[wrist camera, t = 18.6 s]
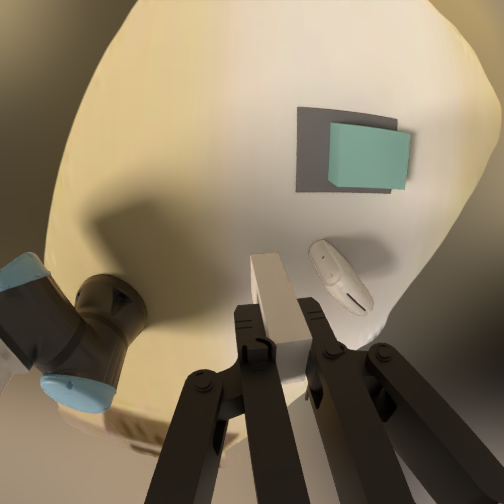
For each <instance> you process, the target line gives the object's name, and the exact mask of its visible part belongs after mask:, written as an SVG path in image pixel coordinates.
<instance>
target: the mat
mask: <svg viewBox="0 0 504 504" xmlns="http://www.w3.org/2000/svg"><path fill="white" fill-rule="evenodd" d="M331 123H342V124H351V125H360V126H367V127H375V128H381V129H388V130H393V131H397V119H392V118H387V117H381V116H376V115H369V114H363V113H355V112H348V111H339V110H329V109H318V108H303V107H297V169H296V192H351V193H385V194H390V192H391V189H386V188H362V187H337V186H336V185H334V184H333V183H332V182H330V181H329V180H328V173H329V154H330V127H331Z"/></svg>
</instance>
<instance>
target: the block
mask: <svg viewBox="0 0 504 504" xmlns="http://www.w3.org/2000/svg"><path fill="white" fill-rule="evenodd" d="M410 136H411V134H408V133H404V132H399V131H393V130H388V129H381V128H375V127H367V126H360V125H351V124H342V123H331V127H330V154H329V173H328V180H329V181H330V182H332V183H333V184H334V185H336V186H337V187H362V188H386V189H403V190H405V183H406V176H407V168H408V159H409V149H410Z"/></svg>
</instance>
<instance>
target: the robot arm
mask: <svg viewBox="0 0 504 504" xmlns="http://www.w3.org/2000/svg"><path fill="white" fill-rule="evenodd" d="M250 261H251V293H252V300H253V304H248V305H238V306H237V308H236V310H235V312H234V320H235V332H236V342H237V351H238V358H237V361H236V362H235V364H234V365H233V366H231V367H230V368H228V369H226V370H224V371H221V372H218V373H216V372H214V371H211V370H208V369H202V370H198V371H195V372H193V373H192V374H190V375H189V376H188V377H187V379H186V381H185V383H184V386H183V389H182V392H181V395H180V398H179V400H178V403H177V406H176V409H175V412H174V415H173V418H172V421H171V424H170V426H169V429H168V432H167V435H166V438H165V441H164V444H163V447H162V450H161V453H160V456H159V459H158V463H157V465H156V468H155V471H154V474H153V477H152V480H151V483H150V487H149V490H148V493H147V496H146V499H145V502H144V504H211V500H212V496H213V491H214V486H215V482H216V478H217V473H218V468H219V464H220V459H221V454H222V450H223V445H224V440H225V436H226V431H227V426H228V421H229V419H231V418H234V417H236V416H239V415H242V414H244V413H245V420H246V428H247V435H248V442H249V450H250V456H251V464H252V470H253V477H254V483H255V490H256V497H257V503H258V504H310V500H309V496H308V492H307V488H306V484H305V480H304V476H303V472H302V467H301V463H300V459H299V455H298V451H297V447H296V443H295V439H294V435H293V430H292V427H291V422H290V418H289V414H288V410H287V406H286V402H285V397H284V393H283V389H282V384H289V383H295V382H301V381H304V380H305V375H306V377H307V380H308V386H307V390H306V394H305V400H308V397H309V398H310V401H311V405H312V408H313V411H314V415H315V418H316V421H317V425H318V428H319V431H320V435H321V438H322V442H323V445H324V449H325V452H326V455H327V459H328V462H329V466H330V469H331V472H332V476H333V480H334V483H335V486H336V490H337V493H338V497H339V501H340V504H416V503H415V502H414V500H413V498H412V495H411V492H410V489H409V487H408V484H407V482H406V479H405V476H404V474H403V471H402V469H401V467H400V464H399V461H398V459H397V457H396V454H395V452H394V449H395V451H396V452H397V453H398V454H399V456H400V457H401V458H402V460H403V461H404V462H405V463H406V465H407V466H408V467H409V469H410V470H411V471H412V473H413V474H414V475H415V476H416V478H417V479H418V480H419V481H420V483H421V484H422V485H423V487H424V488H425V489H426V490H427V492H428V493H429V494H430V496H431V497H432V498H433V499H434V501H435V502H436V503H437V504H504V467H503V466H502V465H501V464H500V463H499V461H498V460H497V459H496V458H495V456H494V455H493V454H492V453H491V452H490V450H489V449H488V448H487V447H486V446H485V445H484V443H482V441H481V440H480V439H479V438H478V437H477V436H476V434H475V433H474V432H473V431H472V430H471V429H470V428H469V426H468V425H467V424H466V423H465V422H464V421H463V420H462V419H461V418H460V416H459V415H458V414H457V413H456V412H455V411H454V410H453V409H452V408H451V407H450V405H449V404H448V403H447V402H446V401H445V400H444V399H443V398H442V397H441V396H440V395H439V394H438V392H437V391H436V390H435V389H434V388H433V387H432V386H431V385H430V384H429V383H428V382H427V381H426V380H425V379H424V378H423V377H422V376H421V375H420V374H419V372H418V371H416V369H415V368H414V367H413V366H412V365H411V364H410V363H409V362H408V361H407V360H406V359H405V358H404V357H403V356H402V355H401V354H400V353H399V352H398V351H397V350H396V349H395V348H394V347H392V346H391V345H389V344H386V343H377V344H374V345H372V346H371V347H370V349H369V351H356V350H350V349H348V348H347V347H346V346H345V345H344V344H343V343H341V342H339V341H337V339H336V337H335V335H334V333H333V331H332V329H331V327H330V325H329V323H328V321H327V319H326V317H325V314H324V312H323V310H322V308H321V306H320V304H319V303H318V302H317V301H316V300H314V299H313V298H312V297H308V298H300V299H297V298H296V296H295V293H294V291H293V289H292V286H291V284H290V281H289V279H288V276H287V274H286V272H285V269H284V267H283V264H282V262H281V260H280V257H279V255H278V252H275V253H262V254H250ZM146 318H147V311H146V306H145V304H144V302H143V300H142V298H141V297H140V295H139V294H138V293H137V292H136V291H135V290H134V289H133V288H132V287H131V286H130V285H128V284H127V283H125V282H124V281H122V280H120V279H117V278H115V277H112V276H107V275H96V276H92V277H90V278H88V279H87V280H85V281H84V283H83V284H82V285H81V287H80V288H79V290H78V292H77V295H76V300H75V306H74V307H73V305H72V304H71V303H70V301H69V300H68V299H67V297H66V296H65V295H64V293H63V292H62V291H61V289H60V288H59V286H58V285H57V283H56V282H55V280H54V279H53V277H52V276H51V273H50V271H48V270H47V269H46V268H45V266H44V265H43V264H42V262H41V261H40V259H39V258H38V257H37V255H35V254H34V253H31V252H27V253H24V254H23V255H21V256H19V257H18V258H16V259H15V260H13V261H12V262H11V263H9V264H8V265H6V266H5V267H4V268H2V269H1V270H0V395H1V393H2V392H3V390H4V388H5V387H6V385H7V384H8V382H9V380H10V378H11V377H12V376H13V374H15V373H28V372H29V370H30V369H31V367H32V366H33V365H34V366H35V367H37V369H38V370H39V371H40V372H41V373H42V374H43V376H41V378H40V379H41V382H40V384H41V387H42V388H43V390H44V391H45V393H46V394H47V395H49V396H50V397H51V398H53V399H54V400H56V401H57V402H59V403H61V404H63V405H65V406H67V407H69V408H72V409H75V410H78V411H81V412H86V413H103V412H105V411H107V410H108V409H109V408H110V406H111V403H112V400H113V397H114V395H115V394H116V391H117V390H116V389H117V385H118V381H119V378H120V374H121V370H122V366H123V363H124V359H125V355H126V352H127V349H128V347H129V345H130V344H131V343H132V342H133V341H134V339H135V338H136V337H137V336H138V335H139V334H140V333H141V332H142V330H143V328H144V325H145V322H146ZM393 448H394V449H393Z"/></svg>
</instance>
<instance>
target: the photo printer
mask: <svg viewBox="0 0 504 504" xmlns="http://www.w3.org/2000/svg"><path fill="white" fill-rule="evenodd" d="M308 254H309V256H310V258H311V260H312V262H313V264H314V266H315V268H316V270H317V272H318V274H319V276H320V278H321V280H322V282H323V284H324V286H325V287H326V289H327V290H328V291H329V293H330V294H331V295H332V296H333V297H334V298H335V299H336V300H337V301H338V302H340V303H341V304H342V305H343V306H344V307H345V308H347V309H348V310H349V311H351V312H352V313H354V314H356V315H359V316H365V315H366V314H367V313H368V312H370V311H371V310H372V309H373V305H374V302H373V298H372V296H371V294H370V293H369V291H368V290H367V288H366V287H365V286H364V284H363V283H362V281H361V280H360V278H359V277H358V275H357V274H356V273H355V271H354V270H353V268H352V267H351V265H350V264H349V263H348V262H347V261H346V260H345V259H344V258H343V257H342V255H341V254H340V253H339V252H338V251H337V250H336V249H335V248H334V247H332V246H331V245H330V244H329V243H328V242H327V241H325V240H319V241H316V242H315V243H314V244H313V245H312V246H311V247H310V252H309V253H308Z"/></svg>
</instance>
